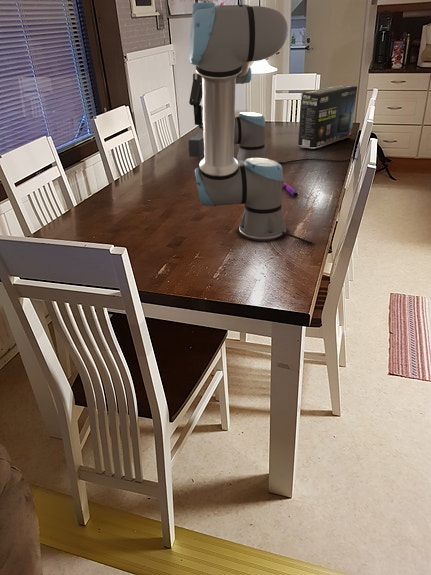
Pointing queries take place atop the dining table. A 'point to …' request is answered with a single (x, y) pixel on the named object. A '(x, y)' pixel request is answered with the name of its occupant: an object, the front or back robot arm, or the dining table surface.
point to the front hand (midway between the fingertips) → (208, 121)
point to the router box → (326, 115)
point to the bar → (196, 145)
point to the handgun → (289, 188)
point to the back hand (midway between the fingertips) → (211, 142)
